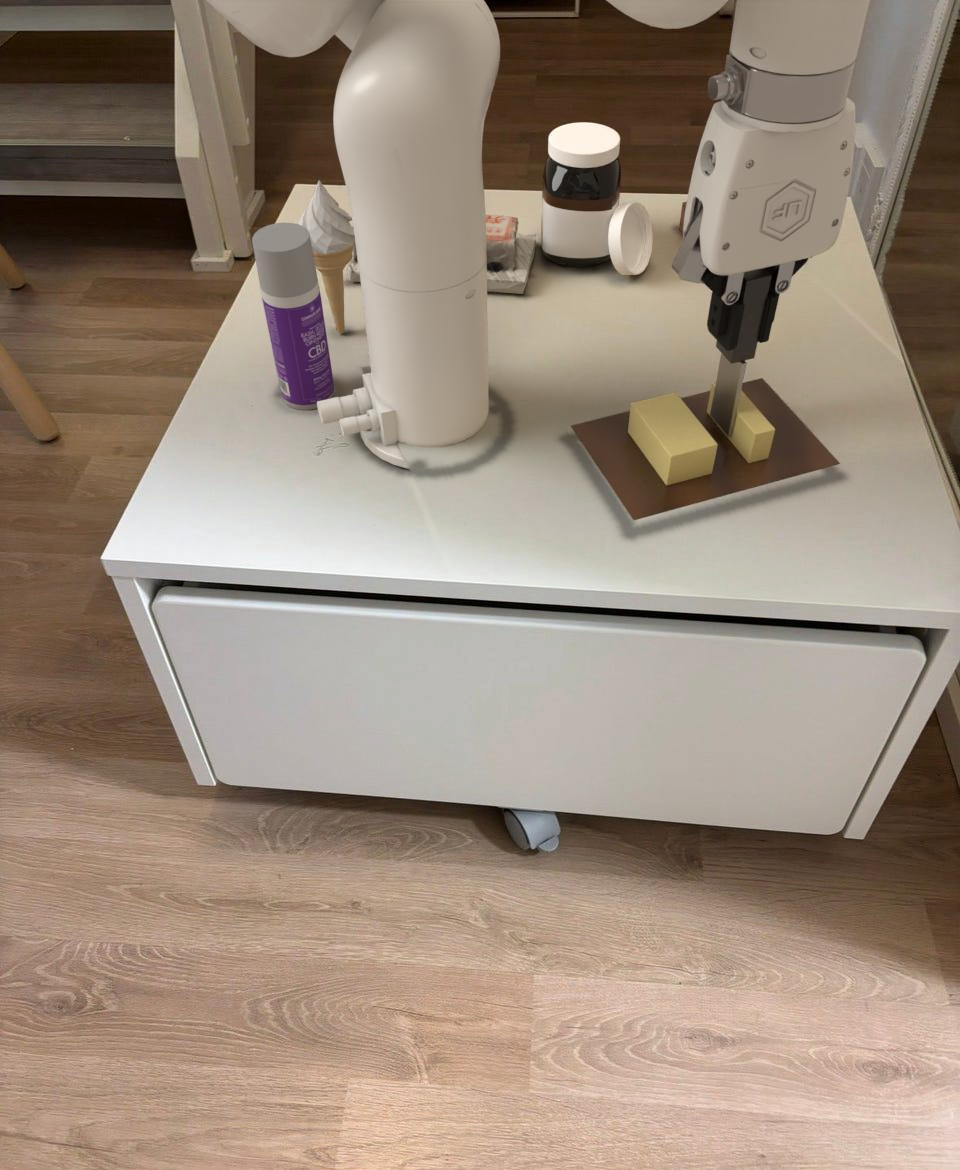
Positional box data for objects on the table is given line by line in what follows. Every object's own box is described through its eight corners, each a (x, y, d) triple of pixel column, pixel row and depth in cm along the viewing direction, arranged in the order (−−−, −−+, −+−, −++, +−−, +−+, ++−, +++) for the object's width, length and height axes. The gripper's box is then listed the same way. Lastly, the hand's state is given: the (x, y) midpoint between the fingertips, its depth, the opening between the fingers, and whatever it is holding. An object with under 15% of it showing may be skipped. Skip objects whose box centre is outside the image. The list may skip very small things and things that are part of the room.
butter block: (666, 486, 79) (671, 456, 77) (627, 432, 84) (630, 402, 82) (712, 473, 80) (718, 444, 78) (671, 421, 85) (675, 391, 82)
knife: (718, 439, 82) (749, 283, 72) (701, 416, 84) (728, 262, 73) (741, 433, 82) (774, 277, 72) (722, 411, 84) (752, 256, 74)
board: (631, 534, 78) (633, 520, 77) (569, 439, 86) (570, 425, 84) (836, 477, 82) (840, 463, 81) (759, 391, 89) (762, 377, 88)
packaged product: (340, 240, 99) (364, 190, 105) (346, 284, 102) (369, 234, 109) (526, 252, 96) (538, 201, 103) (525, 297, 100) (537, 245, 107)
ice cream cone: (358, 354, 94) (338, 199, 83) (301, 345, 95) (274, 191, 84) (378, 320, 98) (362, 168, 87) (323, 313, 99) (300, 161, 88)
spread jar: (543, 224, 110) (546, 113, 101) (649, 227, 109) (662, 116, 100) (536, 284, 102) (539, 170, 93) (651, 289, 101) (665, 174, 92)
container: (325, 413, 88) (300, 255, 77) (274, 407, 89) (241, 249, 78) (341, 380, 92) (318, 224, 80) (291, 375, 92) (262, 219, 81)
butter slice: (748, 464, 81) (755, 434, 79) (706, 412, 85) (711, 382, 83) (768, 458, 81) (775, 429, 79) (725, 407, 86) (731, 377, 83)
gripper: (699, 129, 59) (664, 388, 73) (933, 85, 63) (857, 341, 76) (643, 80, 64) (619, 332, 78) (862, 42, 67) (803, 289, 81)
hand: (737, 335), depth 77 cm, fingers closed on knife, 2 cm apart
